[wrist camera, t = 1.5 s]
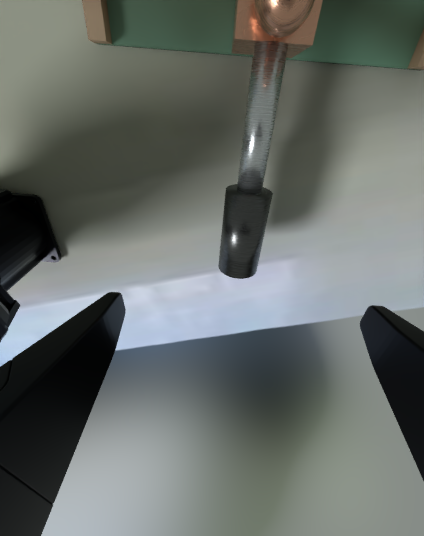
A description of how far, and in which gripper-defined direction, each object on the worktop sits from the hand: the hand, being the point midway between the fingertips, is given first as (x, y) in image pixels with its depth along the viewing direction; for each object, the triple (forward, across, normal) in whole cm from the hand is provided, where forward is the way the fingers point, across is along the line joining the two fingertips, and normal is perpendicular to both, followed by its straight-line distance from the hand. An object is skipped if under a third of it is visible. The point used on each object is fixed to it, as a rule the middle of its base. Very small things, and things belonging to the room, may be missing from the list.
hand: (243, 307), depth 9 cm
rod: (+13, -1, -4) cm, 14 cm away
